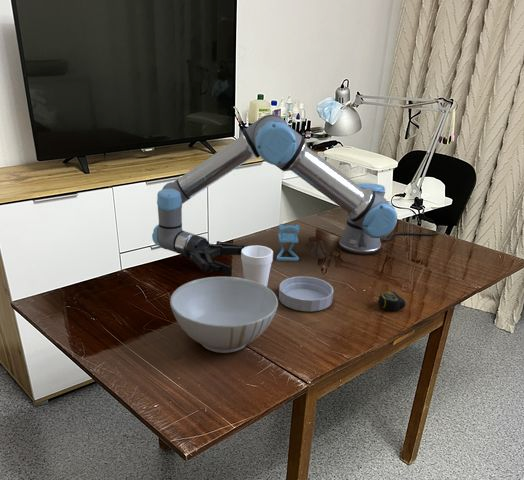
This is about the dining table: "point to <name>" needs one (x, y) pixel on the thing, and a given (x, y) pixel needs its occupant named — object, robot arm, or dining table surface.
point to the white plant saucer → (305, 293)
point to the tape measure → (391, 301)
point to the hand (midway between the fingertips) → (245, 264)
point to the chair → (288, 238)
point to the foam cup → (257, 263)
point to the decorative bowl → (224, 311)
